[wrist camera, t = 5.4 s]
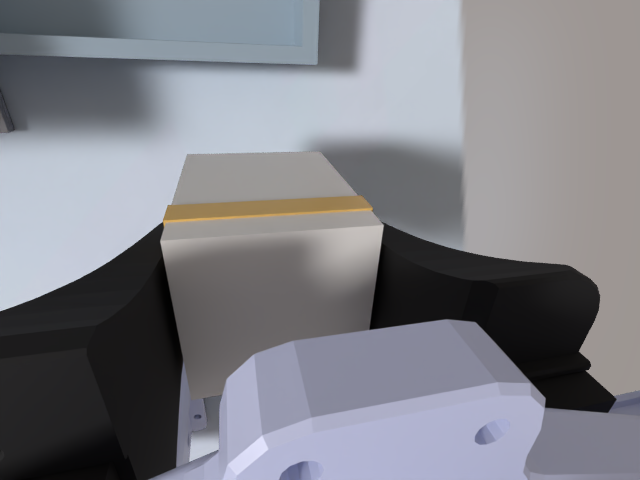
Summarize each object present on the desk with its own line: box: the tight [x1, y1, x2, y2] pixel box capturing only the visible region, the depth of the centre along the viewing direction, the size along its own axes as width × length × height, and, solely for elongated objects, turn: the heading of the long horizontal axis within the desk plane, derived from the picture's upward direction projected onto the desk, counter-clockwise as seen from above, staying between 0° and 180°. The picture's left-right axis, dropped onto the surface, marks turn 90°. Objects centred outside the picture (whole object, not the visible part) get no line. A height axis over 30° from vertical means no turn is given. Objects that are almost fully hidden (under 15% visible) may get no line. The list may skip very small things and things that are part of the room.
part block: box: [160, 151, 384, 400], centre depth 11 cm, size 5×5×6 cm
